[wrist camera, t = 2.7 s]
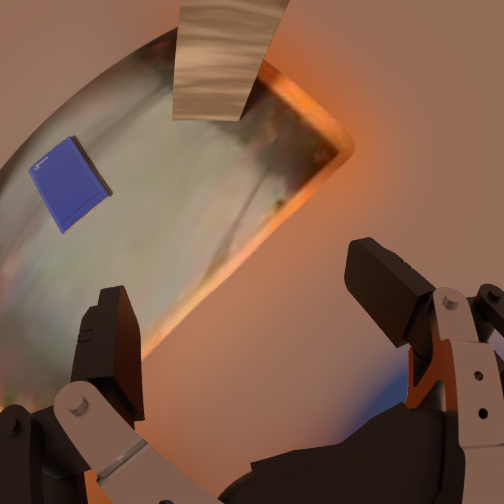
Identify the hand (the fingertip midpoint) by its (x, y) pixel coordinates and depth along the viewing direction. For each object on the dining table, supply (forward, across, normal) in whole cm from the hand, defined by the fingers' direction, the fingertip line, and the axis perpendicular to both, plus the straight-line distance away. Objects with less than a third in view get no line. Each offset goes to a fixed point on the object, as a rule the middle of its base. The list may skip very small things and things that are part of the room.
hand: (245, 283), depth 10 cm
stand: (+41, -5, -8) cm, 42 cm away
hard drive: (+32, +17, +3) cm, 36 cm away
